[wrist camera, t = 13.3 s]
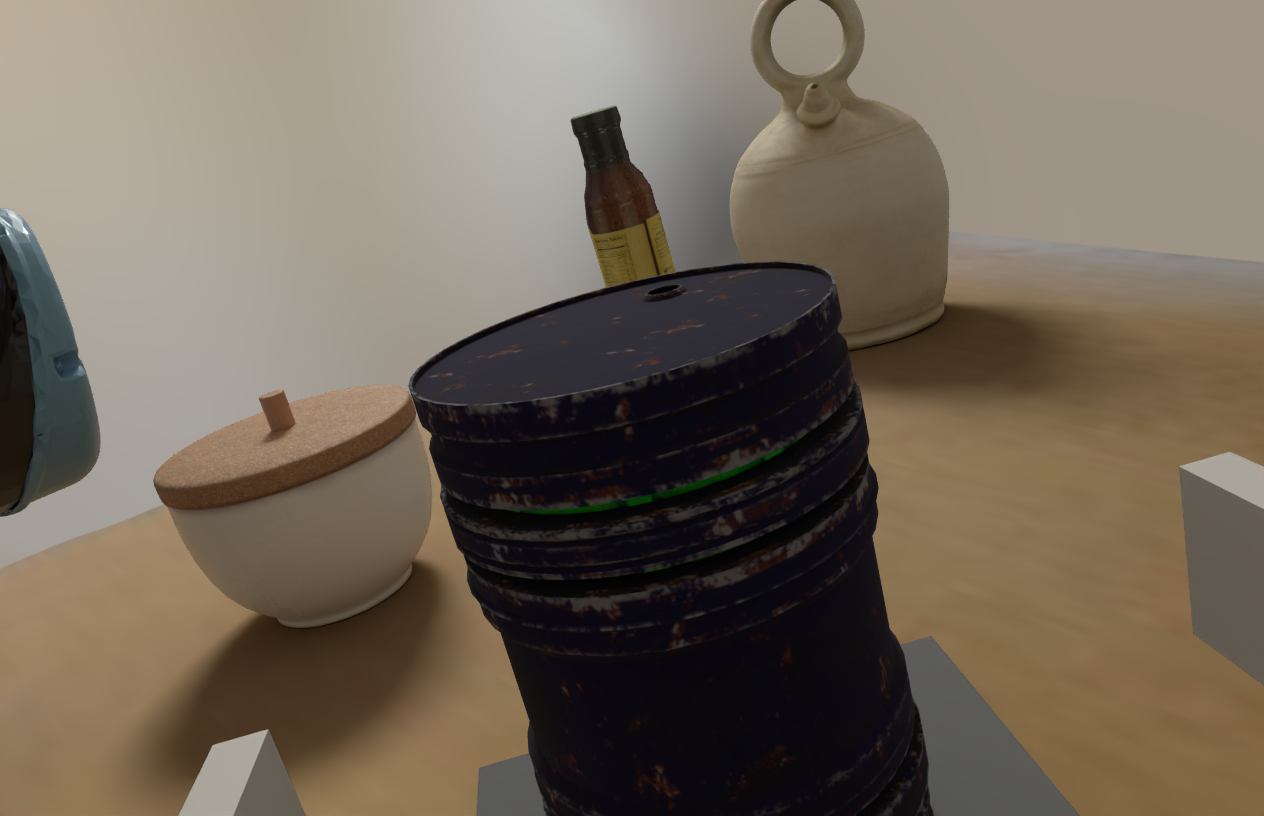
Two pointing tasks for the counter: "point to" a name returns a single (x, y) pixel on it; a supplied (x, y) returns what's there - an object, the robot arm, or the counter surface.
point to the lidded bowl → (306, 503)
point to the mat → (955, 743)
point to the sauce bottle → (619, 203)
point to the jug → (845, 191)
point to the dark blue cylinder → (682, 547)
